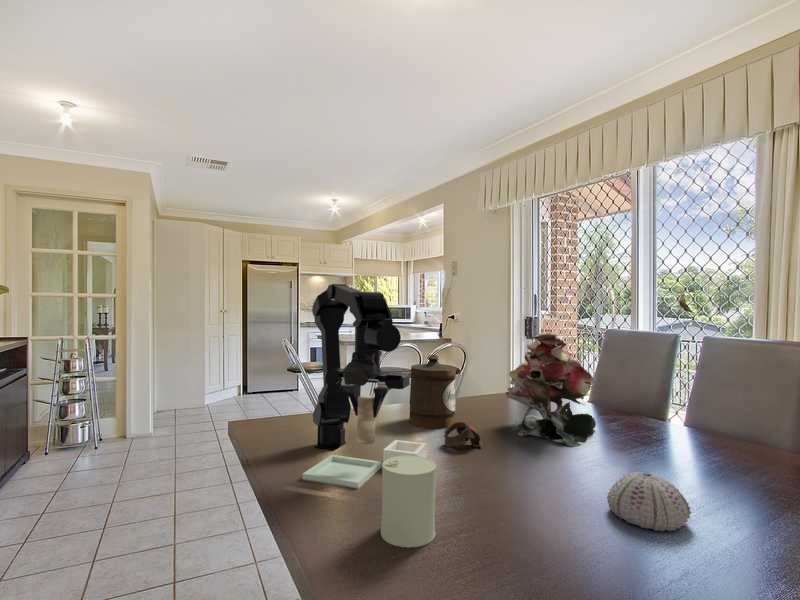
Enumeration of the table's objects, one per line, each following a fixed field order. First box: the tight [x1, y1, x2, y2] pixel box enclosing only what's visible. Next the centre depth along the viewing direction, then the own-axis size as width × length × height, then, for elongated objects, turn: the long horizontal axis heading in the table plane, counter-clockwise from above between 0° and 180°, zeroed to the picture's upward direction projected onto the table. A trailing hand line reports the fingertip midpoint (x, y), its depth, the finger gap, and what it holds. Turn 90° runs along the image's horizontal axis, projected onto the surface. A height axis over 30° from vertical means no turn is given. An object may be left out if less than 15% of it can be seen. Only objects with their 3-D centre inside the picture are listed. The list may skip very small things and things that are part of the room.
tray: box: [301, 454, 383, 490], centre depth 99 cm, size 13×13×2 cm
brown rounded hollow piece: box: [443, 420, 483, 449], centre depth 121 cm, size 12×9×8 cm
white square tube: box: [382, 439, 428, 463], centre depth 105 cm, size 8×8×5 cm
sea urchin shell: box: [606, 471, 692, 532], centre depth 82 cm, size 13×14×8 cm
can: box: [380, 455, 437, 549], centre depth 75 cm, size 9×9×12 cm
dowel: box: [356, 395, 376, 445], centre depth 101 cm, size 4×4×10 cm
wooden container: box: [409, 354, 457, 429], centre depth 146 cm, size 15×15×22 cm
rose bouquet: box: [505, 333, 597, 448], centre depth 140 cm, size 26×29×30 cm
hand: (366, 416), depth 101 cm, fingers closed on dowel, 4 cm apart
